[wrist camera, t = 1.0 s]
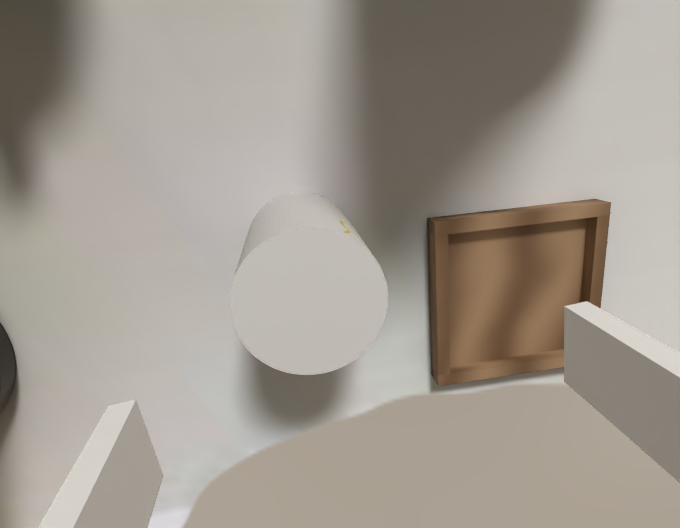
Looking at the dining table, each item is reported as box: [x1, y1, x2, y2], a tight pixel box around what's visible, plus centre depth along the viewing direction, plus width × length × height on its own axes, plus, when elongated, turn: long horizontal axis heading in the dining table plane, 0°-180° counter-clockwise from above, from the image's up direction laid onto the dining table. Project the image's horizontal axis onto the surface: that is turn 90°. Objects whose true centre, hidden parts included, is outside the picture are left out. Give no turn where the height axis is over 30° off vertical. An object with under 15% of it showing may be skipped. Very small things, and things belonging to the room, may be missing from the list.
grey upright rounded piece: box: [229, 192, 388, 375], centre depth 28 cm, size 8×8×12 cm
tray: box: [427, 199, 611, 386], centre depth 37 cm, size 14×14×2 cm
